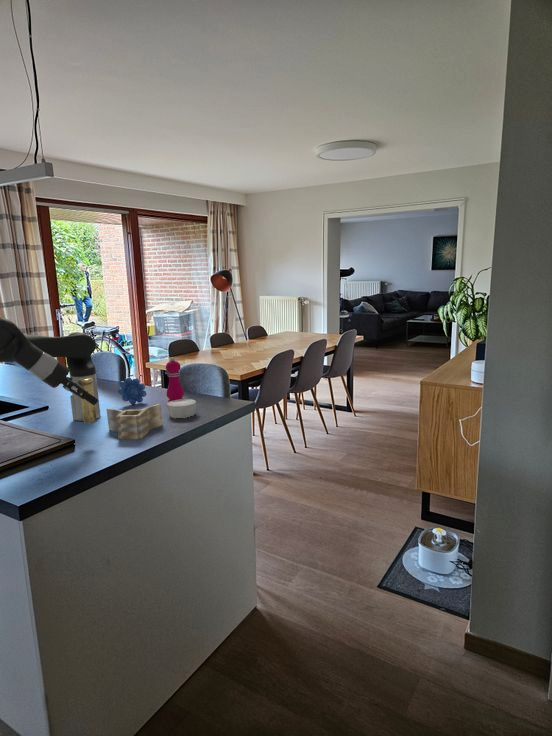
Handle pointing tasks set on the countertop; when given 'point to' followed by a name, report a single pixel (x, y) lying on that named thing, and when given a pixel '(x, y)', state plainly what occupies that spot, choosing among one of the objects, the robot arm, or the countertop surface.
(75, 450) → the countertop surface
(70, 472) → the countertop surface
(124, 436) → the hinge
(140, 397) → the grapes
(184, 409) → the ramekin
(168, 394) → the pepper mill
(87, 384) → the brass peg
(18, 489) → the countertop surface
